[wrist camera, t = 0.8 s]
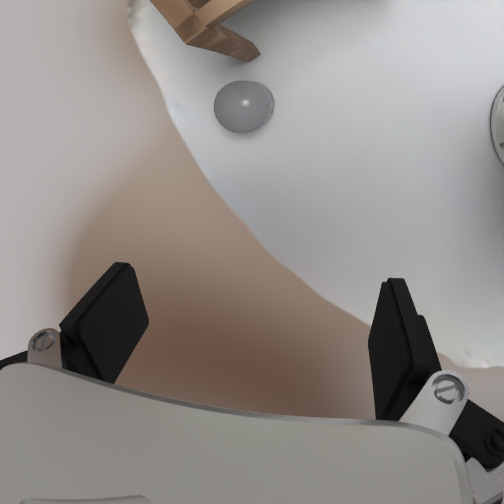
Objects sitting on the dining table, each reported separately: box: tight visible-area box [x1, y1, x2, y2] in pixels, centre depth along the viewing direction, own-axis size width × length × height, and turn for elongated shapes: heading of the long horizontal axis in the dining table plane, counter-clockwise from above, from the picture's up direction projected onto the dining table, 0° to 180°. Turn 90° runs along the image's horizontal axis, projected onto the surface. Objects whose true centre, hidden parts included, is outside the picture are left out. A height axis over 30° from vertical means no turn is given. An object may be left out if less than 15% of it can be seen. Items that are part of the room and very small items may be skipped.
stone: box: [214, 81, 275, 133], centre depth 30 cm, size 5×5×5 cm
